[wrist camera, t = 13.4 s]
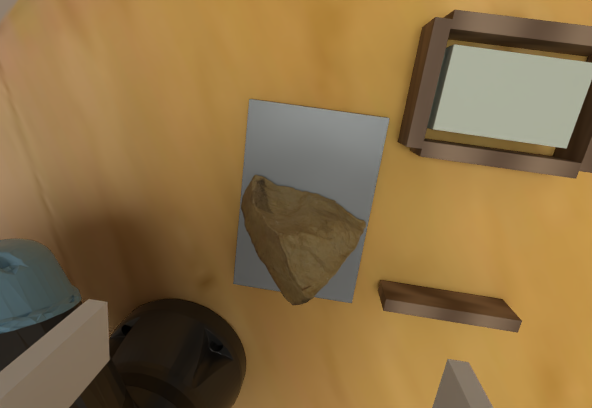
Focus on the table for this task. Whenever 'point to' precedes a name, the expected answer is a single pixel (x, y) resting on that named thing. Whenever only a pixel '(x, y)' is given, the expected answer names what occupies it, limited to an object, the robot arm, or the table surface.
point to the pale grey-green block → (509, 95)
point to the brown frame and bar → (565, 162)
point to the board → (311, 175)
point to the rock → (298, 236)
